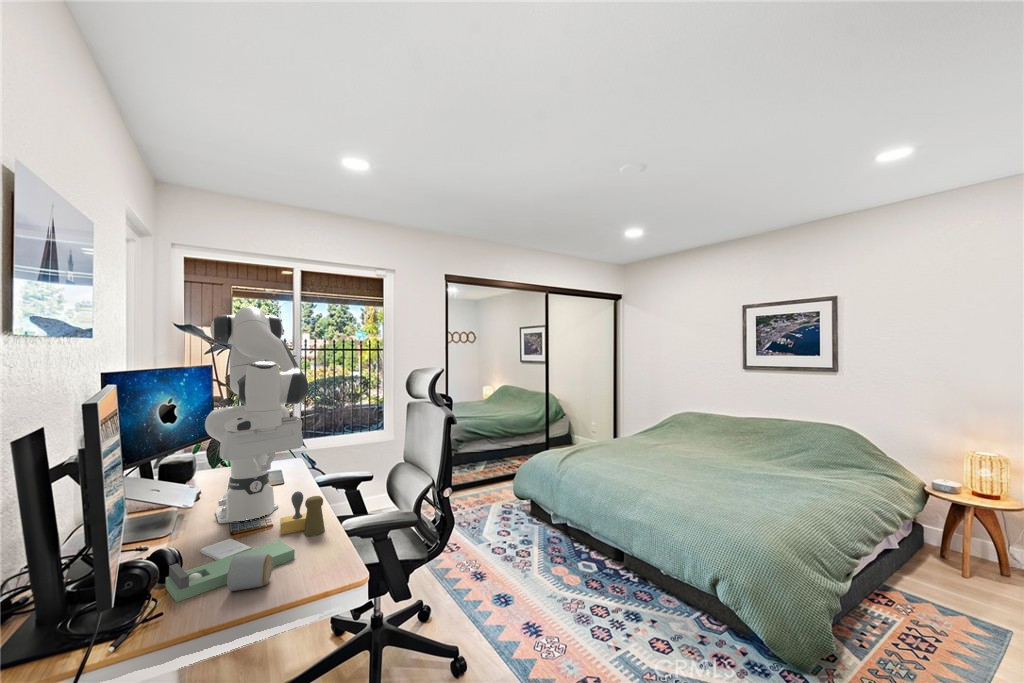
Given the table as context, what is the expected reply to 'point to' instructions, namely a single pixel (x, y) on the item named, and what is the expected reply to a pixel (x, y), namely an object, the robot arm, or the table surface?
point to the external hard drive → (224, 549)
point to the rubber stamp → (294, 517)
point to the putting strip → (218, 571)
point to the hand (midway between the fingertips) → (263, 470)
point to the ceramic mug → (249, 571)
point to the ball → (194, 576)
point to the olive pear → (314, 516)
